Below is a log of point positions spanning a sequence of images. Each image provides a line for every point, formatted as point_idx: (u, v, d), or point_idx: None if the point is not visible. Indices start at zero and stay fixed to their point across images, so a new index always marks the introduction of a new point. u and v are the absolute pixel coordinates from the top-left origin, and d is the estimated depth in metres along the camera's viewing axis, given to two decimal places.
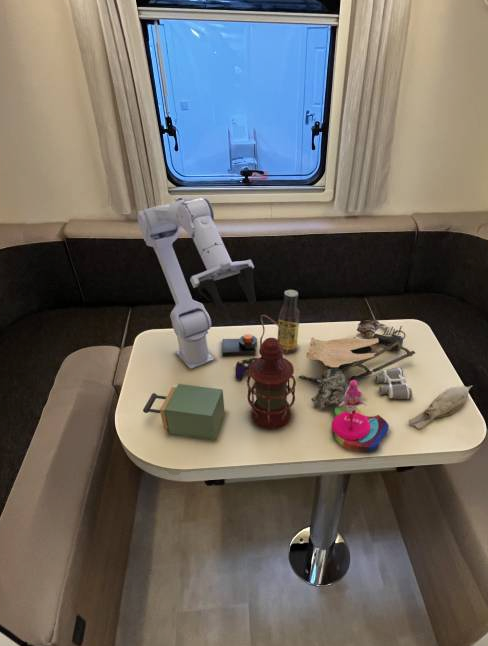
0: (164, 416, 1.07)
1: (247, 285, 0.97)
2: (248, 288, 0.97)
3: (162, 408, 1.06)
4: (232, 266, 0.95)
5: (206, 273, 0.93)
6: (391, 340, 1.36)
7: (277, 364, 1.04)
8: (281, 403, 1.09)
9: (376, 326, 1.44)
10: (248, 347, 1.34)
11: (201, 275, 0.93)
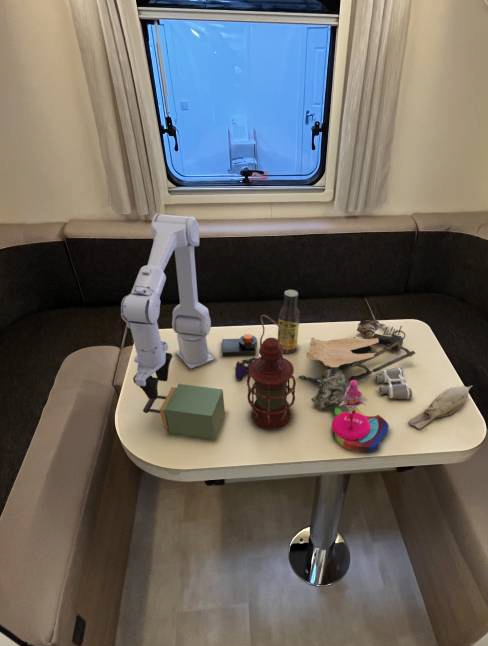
0: (164, 416, 1.07)
1: None
2: None
3: (162, 408, 1.06)
4: None
5: None
6: (391, 340, 1.36)
7: (277, 364, 1.04)
8: (281, 402, 1.09)
9: (376, 326, 1.44)
10: (248, 347, 1.34)
11: None
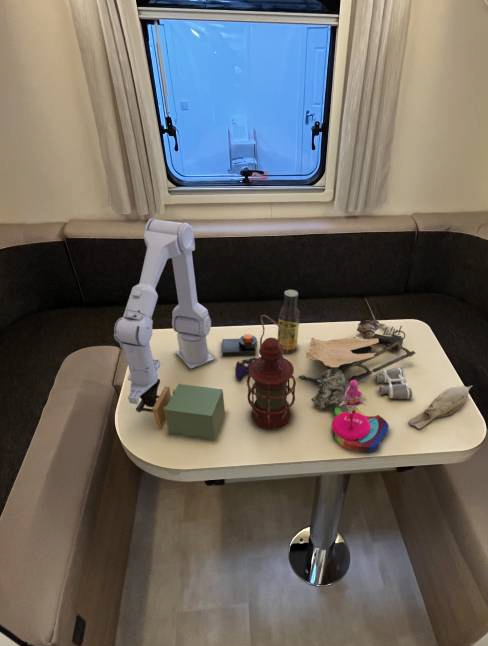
0: (157, 415, 1.07)
1: None
2: None
3: (155, 407, 1.06)
4: None
5: None
6: (391, 340, 1.36)
7: (277, 364, 1.04)
8: (281, 402, 1.09)
9: (376, 326, 1.44)
10: (248, 347, 1.34)
11: None
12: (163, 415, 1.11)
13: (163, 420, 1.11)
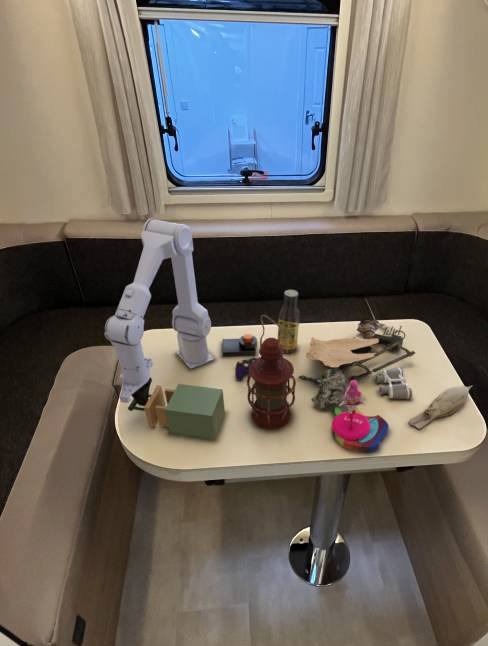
0: (149, 414, 1.08)
1: None
2: None
3: (146, 406, 1.07)
4: None
5: None
6: (391, 340, 1.36)
7: (277, 364, 1.04)
8: (281, 402, 1.09)
9: (376, 326, 1.44)
10: (248, 347, 1.34)
11: None
12: (155, 414, 1.11)
13: (155, 419, 1.11)
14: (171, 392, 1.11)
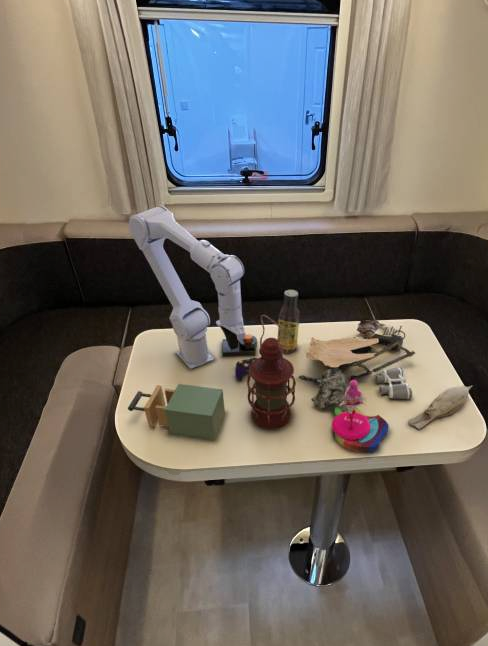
0: (149, 414, 1.08)
1: None
2: None
3: (146, 406, 1.07)
4: None
5: None
6: (391, 340, 1.36)
7: (277, 364, 1.04)
8: (281, 403, 1.09)
9: (376, 326, 1.44)
10: (248, 347, 1.34)
11: None
12: (155, 414, 1.11)
13: (155, 419, 1.11)
14: (171, 392, 1.11)
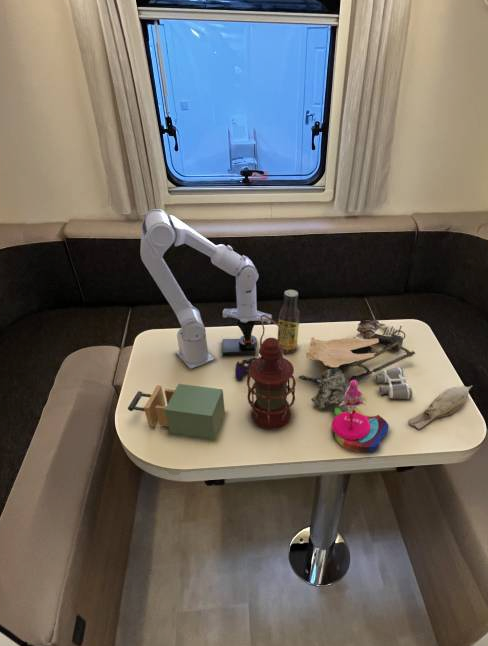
0: (149, 414, 1.08)
1: None
2: None
3: (146, 406, 1.07)
4: None
5: (231, 316, 1.29)
6: (391, 340, 1.36)
7: (277, 364, 1.04)
8: (281, 402, 1.09)
9: (376, 326, 1.44)
10: (248, 347, 1.34)
11: (228, 314, 1.30)
12: (155, 414, 1.11)
13: (155, 419, 1.11)
14: (171, 392, 1.11)
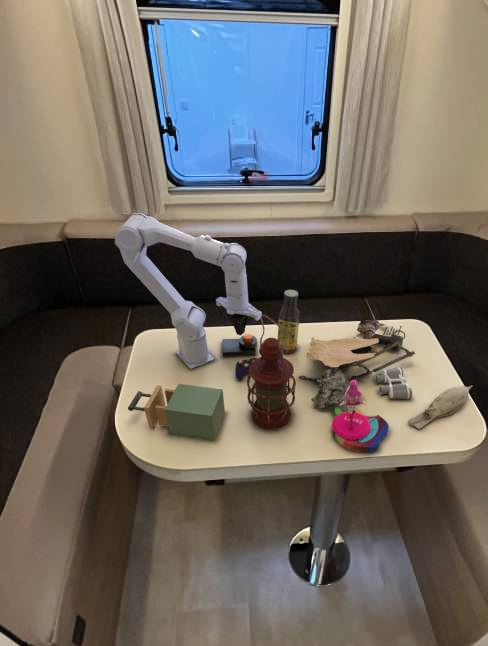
0: (149, 414, 1.08)
1: None
2: None
3: (146, 406, 1.07)
4: None
5: (222, 305, 1.22)
6: (391, 340, 1.36)
7: (277, 364, 1.04)
8: (281, 403, 1.09)
9: (376, 326, 1.44)
10: (248, 347, 1.34)
11: (220, 303, 1.22)
12: (155, 414, 1.11)
13: (155, 419, 1.11)
14: (171, 392, 1.11)
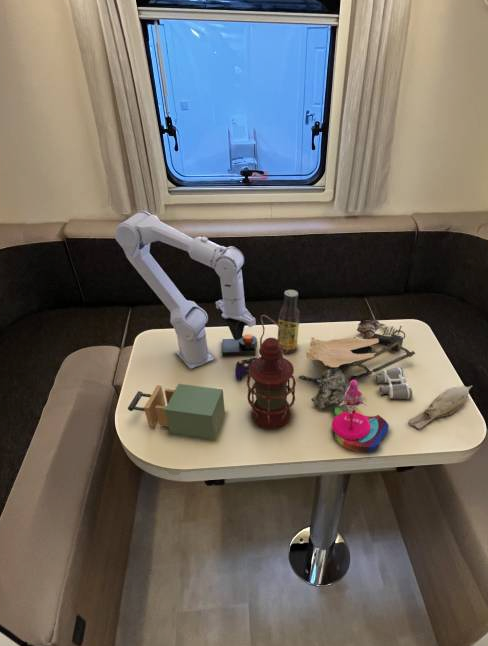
0: (149, 414, 1.08)
1: None
2: None
3: (146, 406, 1.07)
4: None
5: (220, 308, 1.20)
6: (391, 340, 1.36)
7: (277, 364, 1.04)
8: (281, 402, 1.09)
9: (376, 326, 1.44)
10: (248, 347, 1.34)
11: (219, 306, 1.21)
12: (155, 414, 1.11)
13: (155, 419, 1.11)
14: (171, 392, 1.11)
